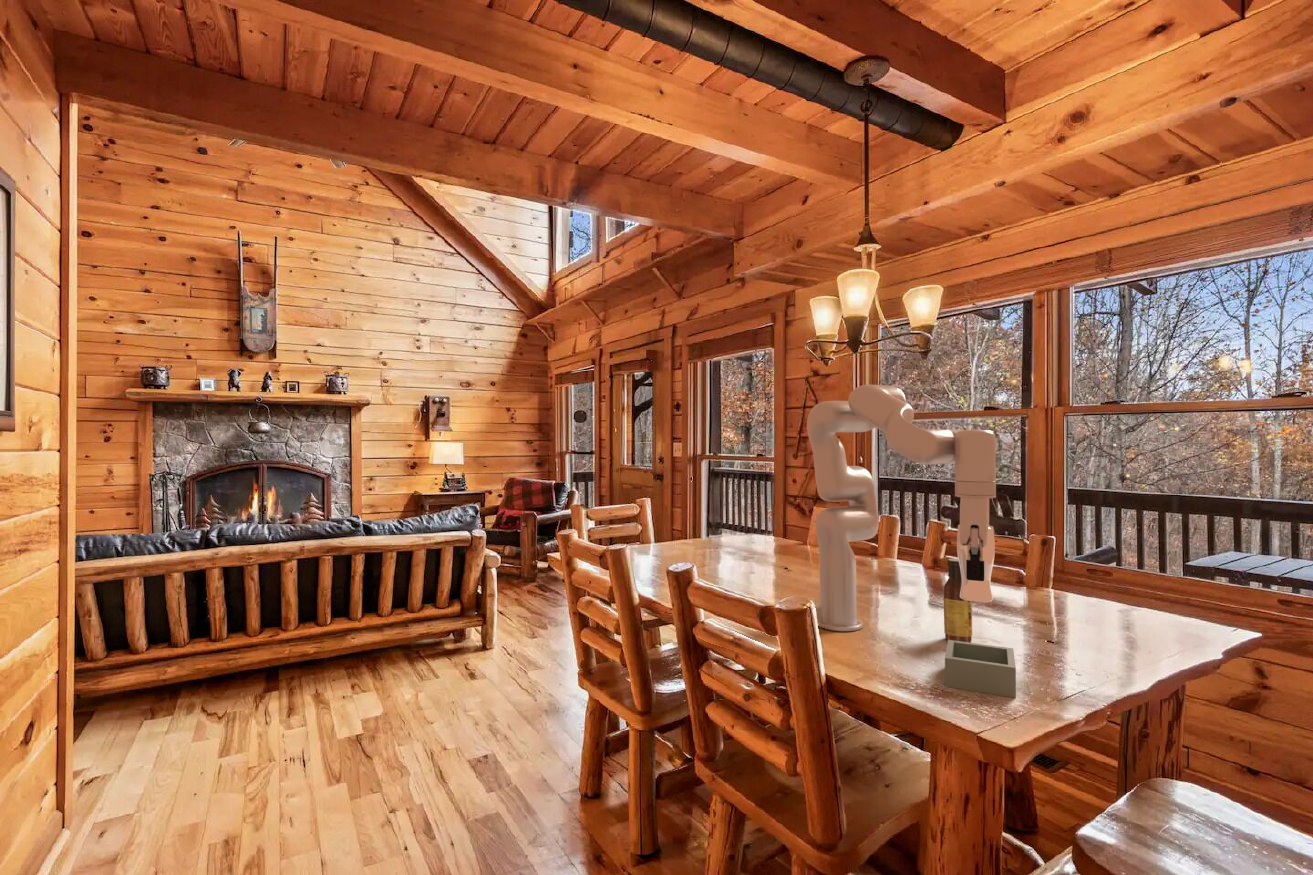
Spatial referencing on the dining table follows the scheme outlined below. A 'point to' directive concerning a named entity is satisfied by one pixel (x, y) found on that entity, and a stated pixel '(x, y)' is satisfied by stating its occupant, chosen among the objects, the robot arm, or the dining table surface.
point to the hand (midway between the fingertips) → (975, 575)
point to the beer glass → (982, 589)
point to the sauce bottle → (956, 607)
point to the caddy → (980, 668)
